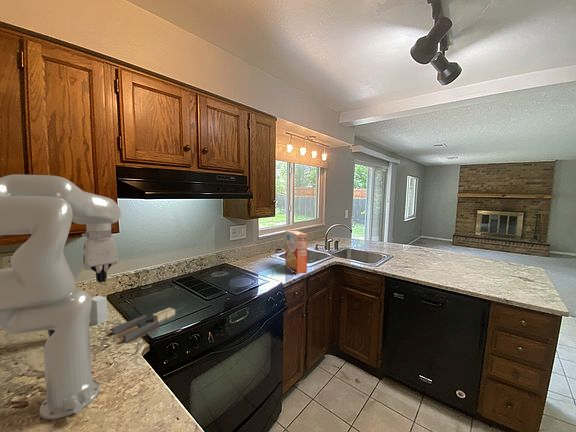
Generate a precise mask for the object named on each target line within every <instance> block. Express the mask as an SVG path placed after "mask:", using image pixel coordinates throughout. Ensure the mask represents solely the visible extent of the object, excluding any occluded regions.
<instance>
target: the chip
mask: <svg viewBox="0 0 576 432" xmlns="http://www.w3.org/2000/svg"><path fill="white" fill-rule="evenodd" d="M166 320H168V319H167V313H166V312H163V310H160V311H158V312H156V313H153V314H152V322H154V321H158V322H159V324H160V323H162V322H164V321H166Z"/></svg>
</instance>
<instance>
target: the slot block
mask: <svg viewBox="0 0 576 432" xmlns="http://www.w3.org/2000/svg"><path fill="white" fill-rule="evenodd" d="M146 321H148V315H146V314H143V315H141V316H139V317H136V318H133V319H130V320H129V321H126V322H123V323H121V324H119V325H116V326H114V327H112V328H111V334H112V335H113V336H115V337H116V338H118V339H119V340H121V341H122V342H124V343H125V344H127V345H128V344H130V343H132V342H134V341H136V340H138V339H140V338H142V337H144V336H148V334H146V333H147V332H150V333H153V332H155V331H157V330H159V329H161V327H160V323H159V322H158V321H151V322H150V321H148V322H149V324H147V325H145V326H142V327H140V328H139V327H138V326H137V325H138V324H141V323H144V322H146ZM150 333H149V334H150Z"/></svg>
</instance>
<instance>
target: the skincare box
mask: <svg viewBox="0 0 576 432" xmlns="http://www.w3.org/2000/svg"><path fill="white" fill-rule="evenodd" d="M91 299H92V306H91V313H90V322H89V325H91V326H94V325H100V324H102V323H105V322H107V321H109V319H108V317H109V316H108V302H107V301H108V299H107V297H106V296H101V295H96V296H93V297H91Z"/></svg>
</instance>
